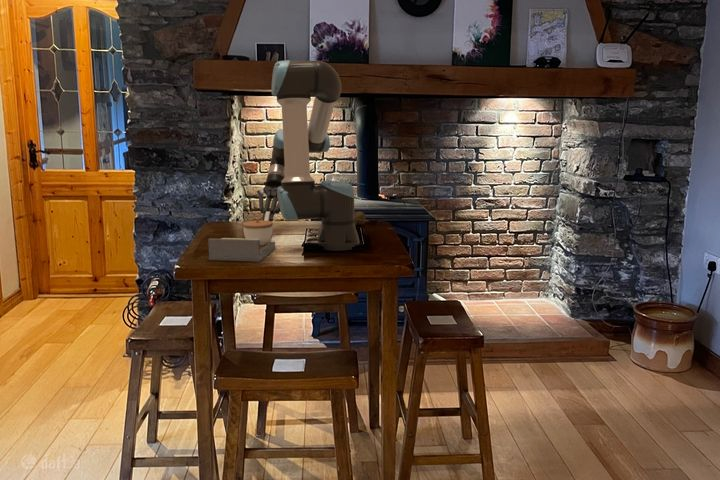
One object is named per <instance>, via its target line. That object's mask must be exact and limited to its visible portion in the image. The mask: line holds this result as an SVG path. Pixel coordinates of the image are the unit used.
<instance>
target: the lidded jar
mask: <svg viewBox="0 0 720 480" xmlns="http://www.w3.org/2000/svg"><path fill="white" fill-rule="evenodd" d="M242 227H243V228H242V229H243V235H244V237H245V238H244V239H259V240H260V246H266V245H267V244H268V242H269V241H270V240H271V238H272V235H273V221H266V220H263V219H260V218H259V217H257V218H255V220H249V221H245V222H243V223H242Z"/></svg>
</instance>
